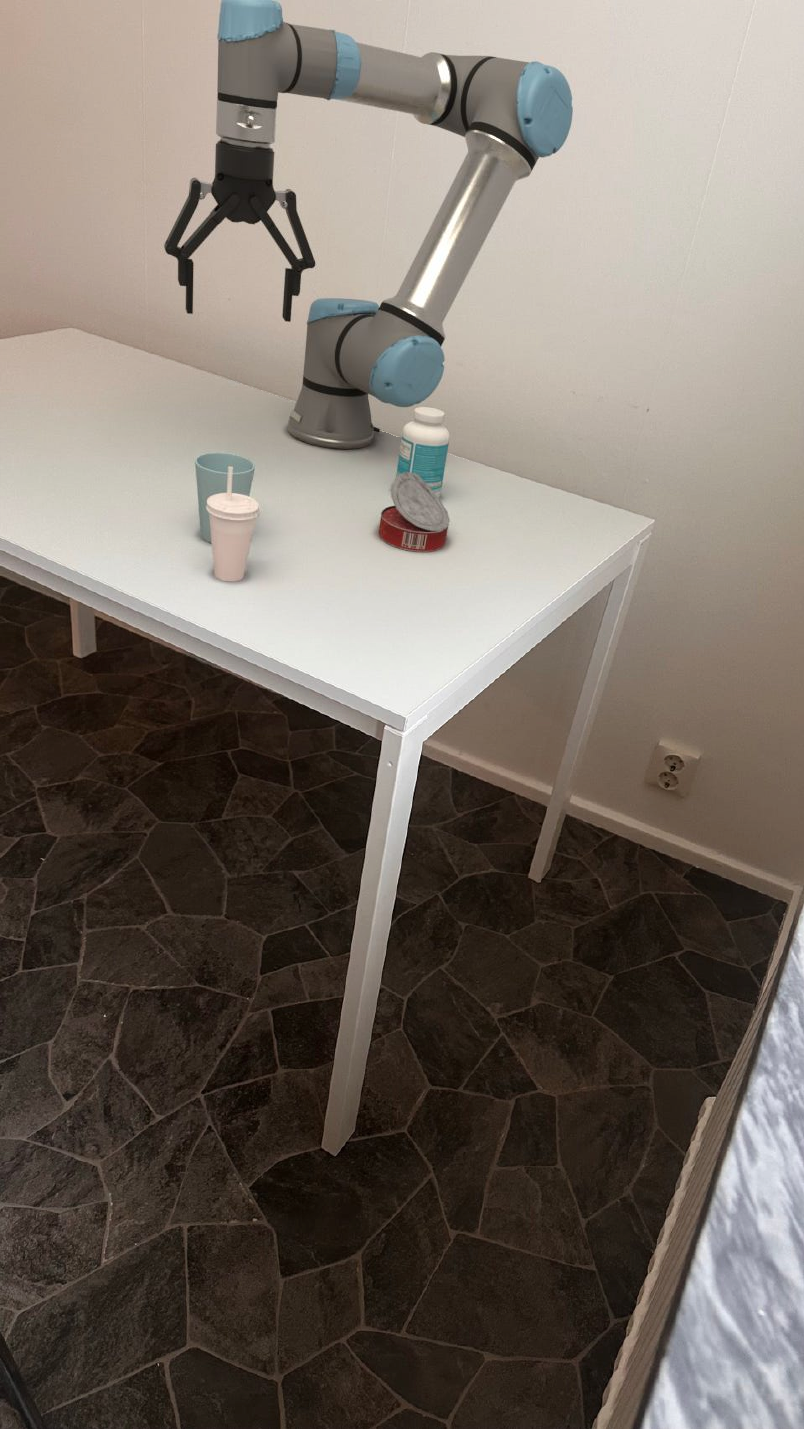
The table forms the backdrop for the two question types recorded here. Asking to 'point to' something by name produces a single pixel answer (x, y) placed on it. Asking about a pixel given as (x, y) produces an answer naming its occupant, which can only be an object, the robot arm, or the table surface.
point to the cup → (220, 481)
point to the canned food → (414, 516)
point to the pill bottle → (425, 447)
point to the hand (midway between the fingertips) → (238, 315)
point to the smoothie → (231, 531)
